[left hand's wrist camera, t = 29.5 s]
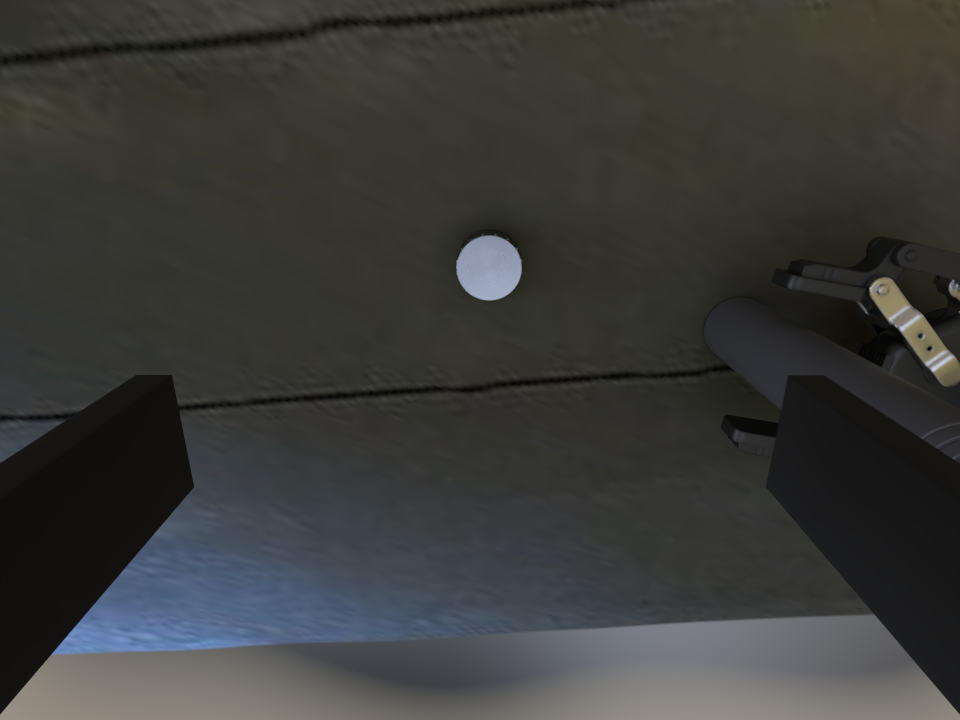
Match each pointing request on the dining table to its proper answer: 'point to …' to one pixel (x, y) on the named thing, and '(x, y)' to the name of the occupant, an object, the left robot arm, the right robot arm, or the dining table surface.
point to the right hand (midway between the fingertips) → (752, 356)
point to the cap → (489, 265)
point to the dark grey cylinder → (822, 369)
